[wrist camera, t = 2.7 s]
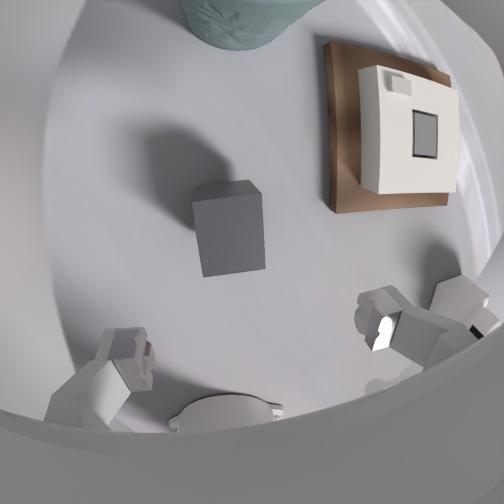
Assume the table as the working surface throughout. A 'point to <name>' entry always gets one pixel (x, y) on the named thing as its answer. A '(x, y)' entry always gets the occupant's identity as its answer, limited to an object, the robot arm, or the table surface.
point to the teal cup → (243, 20)
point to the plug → (229, 227)
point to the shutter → (424, 134)
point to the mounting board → (349, 129)
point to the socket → (406, 133)
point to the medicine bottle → (464, 305)
